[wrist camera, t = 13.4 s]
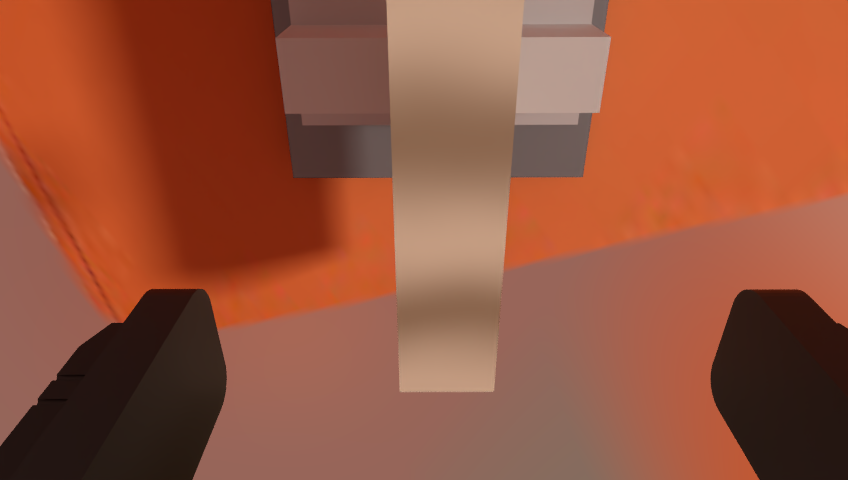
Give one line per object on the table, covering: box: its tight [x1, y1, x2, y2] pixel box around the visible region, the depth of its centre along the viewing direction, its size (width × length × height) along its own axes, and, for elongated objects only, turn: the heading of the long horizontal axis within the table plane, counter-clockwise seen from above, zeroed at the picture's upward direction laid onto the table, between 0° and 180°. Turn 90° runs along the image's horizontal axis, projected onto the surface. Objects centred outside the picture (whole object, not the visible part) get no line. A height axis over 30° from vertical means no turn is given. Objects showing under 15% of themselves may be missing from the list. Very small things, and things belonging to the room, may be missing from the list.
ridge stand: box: [271, 0, 611, 178], centre depth 26 cm, size 14×16×8 cm
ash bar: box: [386, 0, 524, 392], centre depth 20 cm, size 20×4×7 cm, turn 0°
